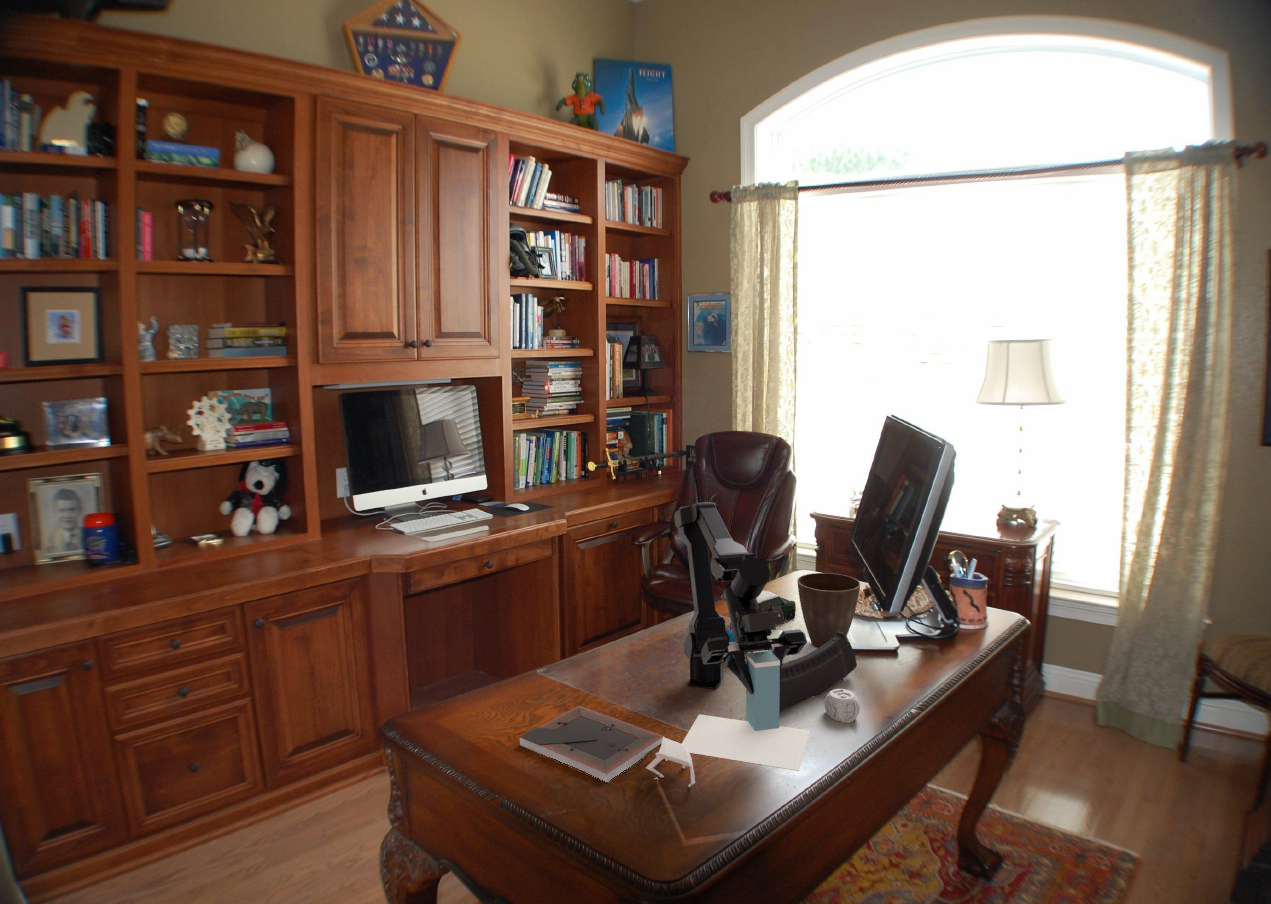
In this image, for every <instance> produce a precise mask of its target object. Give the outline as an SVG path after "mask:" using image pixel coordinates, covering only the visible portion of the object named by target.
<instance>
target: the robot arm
mask: <svg viewBox="0 0 1271 904" xmlns="http://www.w3.org/2000/svg"><path fill="white" fill-rule="evenodd" d="M673 518H674V525H675V527H676V528H677V531H678V532H677V533H678V536H679V537H680V539H681V541H682V542H683V543H684V544H685V545H686V548H687V557H688V558H687V559H688V565H689V566H688V567H689V574H690V575H689V576H690V582H691V583H690V584H691V592H692V601H693V602H692V603H693V611H694V612H693V615H692V617H691V620H690V622H689V623H688V633H687V634H686V636H685V640H684V641H683V653H684V655H685V656H686V657H687V659H688V660H689V680H688V682H687V685H688V686H691V687H700V688H706V689H713V690H715V689H717V688H718V687H719V685H720V684H721V683H722V681H723V679H724V668H725V667H726V668H728V669H729V670H730V671H731V672H732V673H733V674H734V676H736V677H737V678H738V680H739V681H740V682H741V684H742V685H743V686H744V688H745V690H746V689H747V690H748V692H749V693H750V694H751V695H752V694H753V693H754V689H753V684H752V680H751V677H750V674H749V671H748V668H747V665H746V654H745V652H748V653H750V652H753V653H755V652H765V651H771V652H772V653H773V654H774V655H775V656H776V657H777V658H778V659H779V660H780V685H781V668H782V664H783V661H784V659H785V658H786V657H788V656H789V657H790V656H796V655H798V654H800V653H801V651H802V650H803V649H804V647H805V646H806V645H807V643H808V639H807V637H806V633H804V631H803V630H801V629H800V628H799V629H790V630H781V633H780V634H779V636H778V637H776V638H775V637H774V638H769V637H768V636H771V635H772V631H776V630H777V628H776V626H780V625H783V624H784V623H785V618H784V616H783V612H782V609H781V606H778V607H771V608H769V610H768V612H764V613H763V610H762V608H759V606H758V602H757V597H758V596H759V595H760V594H761V592H762V591H764V588H765V587H766V585H767V583H768V581H769V580H770V577H771V570H770V568H769V567H768V565H767V564H766V563H764V562H763V560H761V559H758V558H756V556H755V554H754V552H753V553H749V552H748V551H747V549H746V548H745V546H744V545H743V544H741V543H738V542H737V541H735V540H733V538H732V536H731V534H730V532H729V530H728V527H727V525H726V524H725V522H724V521H723V519H722V517H721V515H720V513H719V506H718V504H717V502H713V501H709V502H707V501H704V502H695V504H692V505H687V506H679V508H678V510H677V511H675V512H674V517H673ZM709 550H710V551H709ZM710 552H711V554H712V555H711V559H710ZM712 576H713V577H714V578H715V580H716V581H717V583H719V582H720V583H722V582H723V583H725V582H729V583H728V584H727V585H726V587H725V588H724V590H723V601H725V602H726V608H727V611H728V614H729V615H728V616H729V618H730V622H729V626H730V630H732V631H734V635H735V639H736V642H730V643H729V639H730V636H729V635H728V632H727V630H728V629H727V627H726V620H725V618H724V616H723V617H722V616H721V615H720V614H719V613H718V612H717V609H716V604H715V595H714V588H713V587H714V586H713V578H712ZM726 629H727V630H726ZM722 659H723V660H722Z"/></svg>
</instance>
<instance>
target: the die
mask: <svg viewBox="0 0 1271 904" xmlns="http://www.w3.org/2000/svg"><path fill="white" fill-rule="evenodd" d="M823 704H824V705H823V706H824V709H825V713H826V715H828V716H829V717H830V718H831V719H833V720H834V721H836V722H843V723H844V724H850V723H853V722H854V721H855V720H856V719H857V718H858V716H859V714H860V709H861V707H860V701H859V698H858V697H857V696H856V694H855V693H854V692H853V691H851V690H849V689H844V688H835V689H832V690H830V691H829V692H828V693H827V694H826V695H825V699H824V702H823Z"/></svg>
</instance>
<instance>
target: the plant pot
mask: <svg viewBox="0 0 1271 904" xmlns="http://www.w3.org/2000/svg"><path fill="white" fill-rule="evenodd" d="M860 589H861V582H860V581H859V580H858V579H857V578H855V577H852V576H850V575H845V574H840V573H833V572H813V573H807V574H804V575H801V576H799V577H797V591H798V598H799V602H800V603H799V604H800V609H801V612H802V617H803V618H802V619H803V622H804V624H805V625H804V626H805V628H806V631H807V634H808V637H809V640H810V643H811V645H812V646H813V647H815V648H816V649H818V648H819V647H821V646H822V645H824V644H825V643H827V642H828V641H830V639H831V638H833V637H835V636H836V635H837V632H842V633H845V635H846V636H847V637H848V634H849V631H850V628H851V626H852V622H853V619H854V616H855V612H856V609H857V605H858V599H859V595H860Z"/></svg>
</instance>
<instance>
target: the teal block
mask: <svg viewBox="0 0 1271 904" xmlns="http://www.w3.org/2000/svg"><path fill="white" fill-rule="evenodd" d="M745 661H746V665H747V668H748V671H749V674H750V677H751V680H752V684H753V689H754V693H753V694H752V695H751V694H750V693H749V692H748V690H747V689H746V688H745V692H746V694H745V695H746V698H745V701H746V702H745V703H746V704H745V705H746V706H745V708H746V709H745V721H748V722H749V724H750V725H751V726H752V728H753V729H754V730H755V731H760V730H768V729H776V728H779V726H780V711H779V696H780V660H779V659H778V658H777V657H776V656H775V655H774V654H773V653H772V652H771V651H768V650H765V651H755V652H753V653H750V652H748V653H746V654H745Z"/></svg>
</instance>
